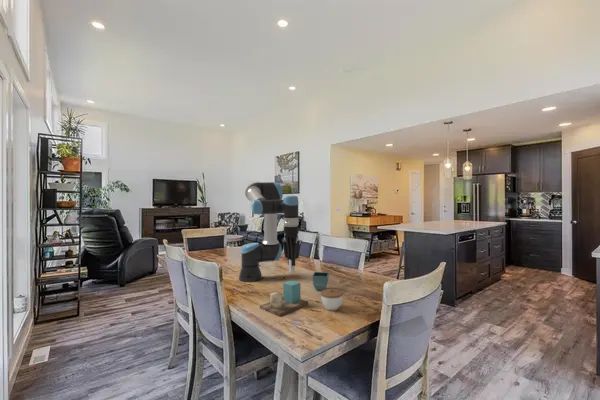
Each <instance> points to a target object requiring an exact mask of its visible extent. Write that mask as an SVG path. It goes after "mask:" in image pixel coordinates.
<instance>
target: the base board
mask: <svg viewBox="0 0 600 400" xmlns="http://www.w3.org/2000/svg"><path fill="white" fill-rule="evenodd" d="M307 305H309V301H308V300H305V299H302V298H301V300H300V301H298V302H295V303H293V304H292V303H289V302H286V301H283V296H282V307H281V308H279V309H273V308H271V304H270V301H269V302H267V303H263V304H262V305H259V309H260V308H261V309H260V310H262V309H263V310H262V311H264V310H265V311H264V312H267V311H268V312H267V313H269V312H270V314H271V315H274V314H275V316H277V317H282V316H284V315H286V314H288V313H291V312H294V311H296V310H298V309H300V308H302V307H306V306H307Z"/></svg>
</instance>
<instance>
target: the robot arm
mask: <svg viewBox="0 0 600 400" xmlns="http://www.w3.org/2000/svg"><path fill="white" fill-rule="evenodd" d="M244 193H245V197H246V199H247V200H248V201H250V202H251V204H250V205H251V206H250V208H251V213H252V214H253V215H259V216H260V215H264V221H263V222H264V223H263V224H264V231H263V233H264V234H263V235H264V236H263V240H262V241H261V244H259V242H251V243H247V244H246V243H245V244H243V245H241V249H240V250H241V251H240V254H241V268H240V272H239V275H238V280H239V281H241V282H246V283H247V282H256V281H257V282H258V281H259V280H261V279H262V278H263V275H262V271H261V268H260V263H266V262H268V263H269V262H272V263H273V262H275V261H279V260H280V259H281V256H282V251H283V252H284V253H283V254H284V257H285V258H287V265H288V273H291V274H292V273H295V271H296V270H295V269H296V267H295V266H296V260H297V259H299V258H300V250H301V245H302V243H303V240H300V239H299V236H298V234H299V231H300V228H299V221H300V220H299V203H300V202H299V197H298V196H297V195H285V196H283V195H284V194H283V193H284V192H283V188H282V185H281V183H279V182H273V181H271V182H268V181H267V182H266V181H265V182H259V181H258V182H257V181H256V182H254V183H251V184H249V185H248V186H247V187H246V189H245V192H244ZM279 214H280V215H281V214H283V225H284V227H283V234H284V237H283V238H281V239H280V241H281V243H282V244H281V243H280V242H279V240H278V215H279ZM282 247H283V249H282Z"/></svg>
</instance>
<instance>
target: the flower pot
mask: <svg viewBox="0 0 600 400" xmlns="http://www.w3.org/2000/svg"><path fill="white" fill-rule="evenodd" d="M329 274H330V273H329V272H324V271H323V272H319V271H314V272H313V274H312V276H311V277H312V284H313V287H314V289H315V290H316V291H323V290H326V289H327V285H328V283H329V276H330V275H329Z"/></svg>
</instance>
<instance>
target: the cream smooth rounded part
mask: <svg viewBox="0 0 600 400" xmlns="http://www.w3.org/2000/svg"><path fill="white" fill-rule="evenodd" d="M282 297H283V293H281V292H272V293H270V298H269V299H270V301H269V302H270V304H271V308H273V309H279V308H281V307H282Z"/></svg>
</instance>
